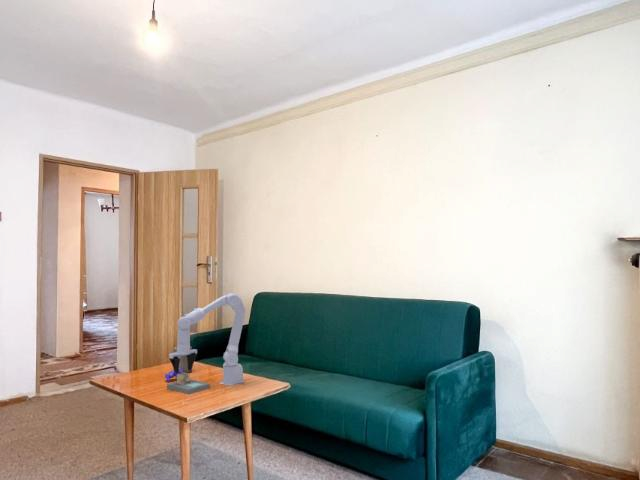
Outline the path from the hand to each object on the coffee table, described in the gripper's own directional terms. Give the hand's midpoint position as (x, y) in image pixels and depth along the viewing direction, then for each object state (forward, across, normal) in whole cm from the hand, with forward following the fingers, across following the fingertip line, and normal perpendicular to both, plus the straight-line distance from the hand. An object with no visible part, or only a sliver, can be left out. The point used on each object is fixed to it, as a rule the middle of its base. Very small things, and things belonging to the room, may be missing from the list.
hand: (183, 371), depth 203 cm
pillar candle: (+8, -19, -26) cm, 33 cm away
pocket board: (+8, 0, +4) cm, 9 cm away
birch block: (+7, 0, 0) cm, 7 cm away
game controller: (+8, -5, -15) cm, 18 cm away
